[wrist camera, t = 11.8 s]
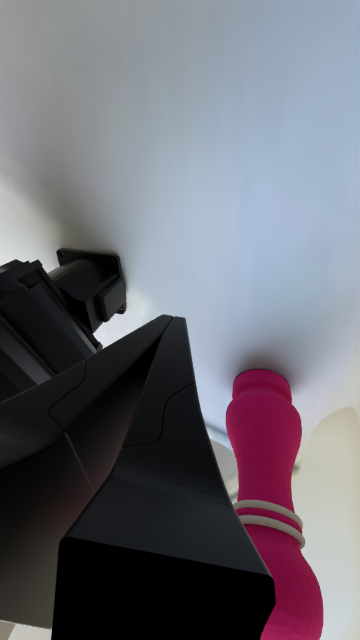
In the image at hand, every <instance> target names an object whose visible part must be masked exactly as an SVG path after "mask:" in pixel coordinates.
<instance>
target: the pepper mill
mask: <svg viewBox="0 0 360 640" xmlns="http://www.w3.org/2000/svg"><path fill="white" fill-rule="evenodd" d="M232 398H233V400H232V401H231V402H230V404H229V406H228V408H227V411H226V428H227V433H228V437H229V440H230V442H231V445H232V448H233V451H234V454H235V457H236V461H237V467H238V479H239V490H238V499H237V502H236V503H235V504H233V506H234V509H235V511H236V513H237V515H238V516H239V518H240V520H241V522H242V524H243V525H244V527H245V529H246V531H247V533H248V534H249V536H250V538H251V540H252V542H253V543H254V545H255V547H256V549H257V551H258V552H259V554H260V556H261V558H262V560H263V561H264V563H265V565H266V567H267V569H268V570H269V572H270V574H271V576H272V578H273V579H274V583H275V595H276V604H275V607H274V609H273V611H272V613H271V615H270V617H269V619H268V621H267V623H266V625H265V628H264V630H263V632H262V634H261V638H260V640H319V639H320V637H321V633H322V628H323V601H322V595H321V590H320V586H319V583H318V581H317V578H316V576H315V574H314V572H313V571H312V569H311V567H310V566H309V564H308V563H307V561H306V560H305V558H304V557H303V556H302V553H301V551H300V549H302V548H303V547H304V545H305V539H304V537H303V535H302V528H303V523H302V521H301V519H300V518H299V517H298V516H297V515H296V514H295V511H294V507H293V502H292V495H291V494H292V493H291V477H292V470H293V466H294V462H295V459H296V456H297V453H298V450H299V447H300V442H301V436H302V427H301V419H300V415H299V413H298V412H297V410H296V408H295V407H294V406H293V405H292V397H291V391H290V386H289V384H288V382H287V381H286V380H285V379H284V378H283V377H282V376H281V375H279V374H277V373H275V372H272V371H269V370H263V369H254V370H249V371H246V372H244V373H241V374H240V375H239V376H238V377H237V378H236V379H235V380H234V383H233V393H232Z"/></svg>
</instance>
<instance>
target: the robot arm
mask: <svg viewBox="0 0 360 640" xmlns="http://www.w3.org/2000/svg"><path fill="white" fill-rule="evenodd" d="M61 252H62V253H63V255H62V253H61ZM56 253H57V257H58V261H59V264H60V267H58V268H56V269H54V270H53V271H51V272H49V273H48V274H47V273H46V271H45V270H44V269H43V267H42V266H43V265H42V264H41V262H40V261H39V260H36V261H34V262H31V263H30V262H29V261H26V262H24V263H23V262H21V261H19V260H17V259H15V260H13V261H11V262H9V263H6V264H4V265H2V266H0V640H8V638H9V636H10V634H11V632H12V630H13V628H14V626H15V624H21V625H26V626H32V627H38V628H44V629H51V628H52V635H51V640H260V638H261V634H262V632H263V630H264V628H265V625H266V623H267V621H268V619H269V617H270V615H271V613H272V611H273V609H274V607H275V604H276V595H275V583H274V579H273V578H272V576H271V574H270V572H269V570H268V569H267V567H266V565H265V563H264V561H263V560H262V558H261V556H260V554H259V552H258V551H257V549H256V547H255V545H254V543H253V542H252V540H251V538H250V536H249V534H248V533H247V531H246V529H245V527H244V525H243V524H242V522H241V520H240V518H239V516H238V515H237V513H236V511H235V509H234V506H233V504H232V502H231V500H230V497H229V495H228V492H227V490H226V487H225V484H224V481H223V479H222V476H221V473H220V470H219V467H218V464H217V460H216V457H215V454H214V451H213V448H212V445H211V442H210V439H209V436H208V433H207V430H206V426H205V423H204V419H203V416H202V412H201V408H200V403H199V398H198V393H197V386H196V381H195V374H194V368H193V362H192V356H191V349H190V343H189V337H188V330H187V324H186V319H185V318H183V317H177V316H175V317H173V316H171V315H164V314H163V315H161V316H159V317H157V318H155V319H154V320H152V321H150V322H149V323H147V324H145V325H143V326H142V327H140V328H138V329H136V330H135V331H133V332H131V333H130V334H128V335H126V336H124V337H123V338H121V339H119V340H117V341H116V342H114V343H112V344H111V345H109V346H107V347H105V348H104V349H102V348H103V346H102V344H101V343H100V342H98V341H97V339H96V338H95V337H94V335H93V333H94V332H95V331H96V330H97V329H98V328H99V326H100V325H101V324H102V323H103V322H108V321H109V320H110V318H111V317H112V316H113V315H114V314H115V313H117V314H124V313H125V311H126V303H125V301H126V293H125V285H124V279H123V277H122V273H121V266H120V259H119V257H118V256H117V255H115V254H108V253H100V252H91V251H82V250H73V249H65V248H61V249H59V250H57V252H56ZM112 258H113V259H115V262H114V261H113V259H112ZM120 308H121V309H122V310H121V309H120Z"/></svg>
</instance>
